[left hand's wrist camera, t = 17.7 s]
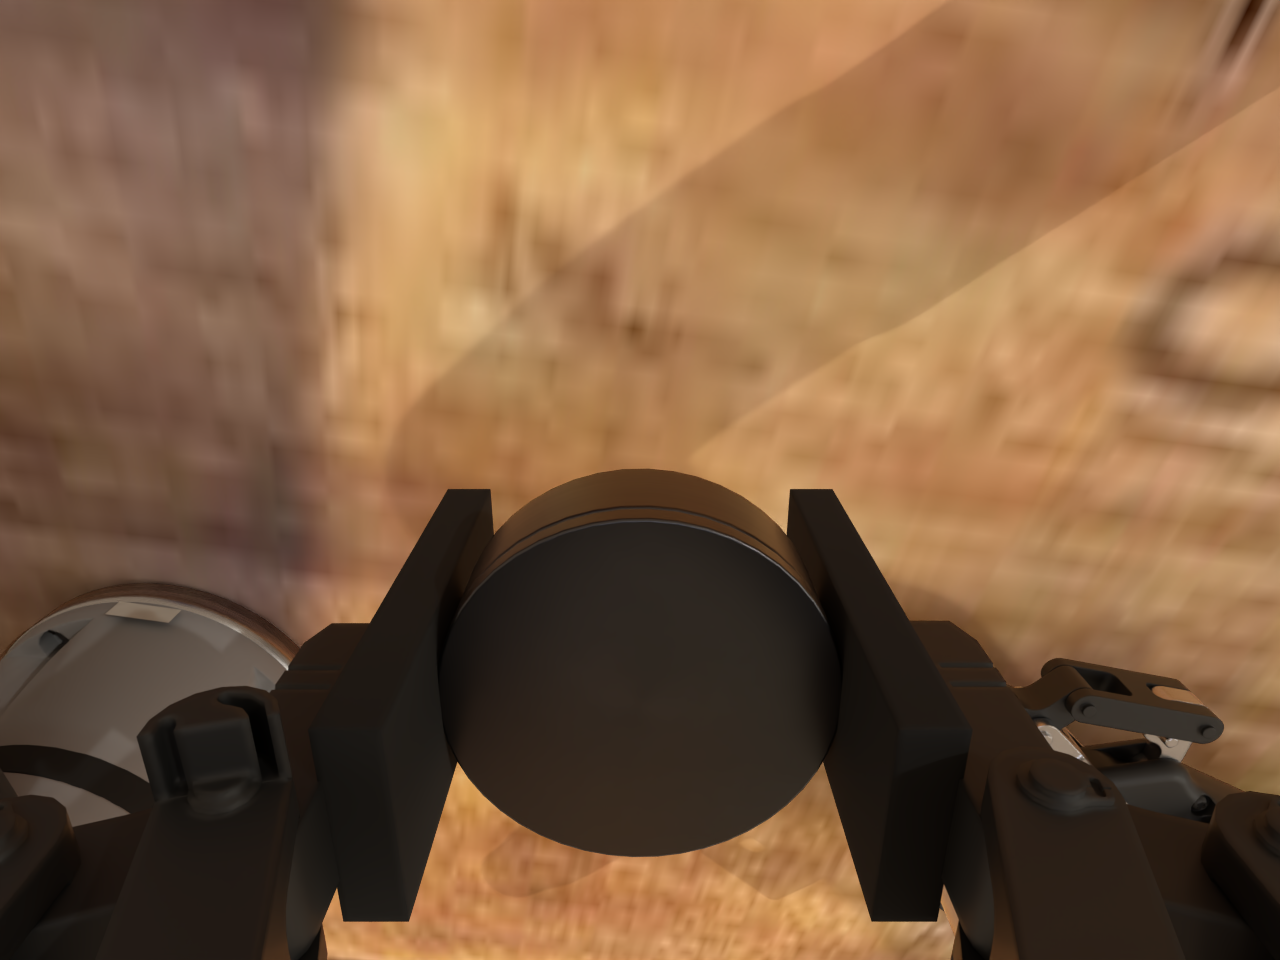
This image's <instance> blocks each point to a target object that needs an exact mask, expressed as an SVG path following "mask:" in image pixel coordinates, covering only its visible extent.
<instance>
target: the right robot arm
mask: <svg viewBox="0 0 1280 960" xmlns="http://www.w3.org/2000/svg"><path fill="white" fill-rule="evenodd" d="M1041 677H1042V678H1041V679H1039V680H1038V681H1036V682H1035V683H1033V684H1031V685H1029V686H1027V687H1021V686H1016V687H1011V686H1009V685H1007V684H1006V687H1010V689H1011V690H1012V691H1013V693H1014V694H1015V696H1016V697H1017V699H1018V700H1019V701H1020V703H1021V704H1022V706H1023V707H1024V709H1025V710H1026V711H1027V713H1028V714H1029V716H1030V717H1031V719H1032V720H1033V721H1034V723H1035V724H1036V726H1037V727H1038V729H1039V730H1040V731H1041V733H1042V734H1043V736H1044V737H1045V739H1046V740H1047V741H1048V743H1049V744H1050V746H1051V747H1052V748H1053V750H1055V751H1059V752H1062V753H1066V754H1069V755H1072V756H1074V757H1076V758H1077V759H1079V760H1081V761H1083V762H1085V763H1087V764H1089V765H1091V766H1093V767H1095V768H1096V769H1097V770H1098V771H1100V772H1101V773H1102V774H1103V775H1105V776H1106V777H1107V778H1108V779H1109V780H1111V781H1112V782H1113V783H1114V784H1115V786H1116V787H1117V789H1118V790H1119V792H1120V793H1121V795H1122V796H1123V798H1124V799H1125V801H1126V804H1129V805H1132V806H1136V807H1139V808H1142V809H1146V810H1150V811H1154V812H1158V813H1163V814H1167V815H1172V816H1176V817H1181V818H1185V819H1190V820H1194V821H1198V822H1203V823H1207V824H1209V823H1210V820H1211V817H1212V814H1213V811H1214V808H1215V806H1216V804H1217V803H1218V802H1219V801H1220V800H1222V799H1223V798H1224V797H1226V796H1227V795H1228V794H1234V793H1241V792H1244V791H1242V790H1240V789H1238V788H1235V787H1233V786H1231V785H1229V784H1227V783H1224V782H1222V781H1220V780H1218V779H1215V778H1213V777H1211V776H1209V775H1207V774H1204V773H1202V772H1200V771H1198V770H1196V769H1193V768H1191V767H1189V766H1187V765H1184V764H1182V763H1181V761H1182V759H1183V758H1184V756H1185V754H1186V752H1187V751H1188V749H1189V747H1190V745H1191V744H1192V742H1195V743H1201V744H1206V743H1210V742H1213V741H1214V740H1216V739H1217V738H1219V737H1220V735H1221V734H1222V732H1223V730H1224V725H1223V723H1222V721H1221V720H1220V719H1219V718H1218V717H1217V716H1216V715H1215V714H1214V713H1212V712H1211V711H1210V710H1209V709H1208V708H1207V707H1206V706H1205V705H1204V704H1203V703H1202V702H1201V701H1200V700H1199V699H1198V698H1197V697H1196V696H1195V695H1194V694H1193V693H1191V692H1190V691H1189V690H1188V689H1187V688H1186V687H1185V686H1184V685H1183V684H1182V683H1181V682H1180V681H1178V680H1176V679H1172V678H1166V677H1161V676H1156V675H1150V674H1145V673H1139V672H1134V671H1128V670H1123V669H1117V668H1112V667H1106V666H1101V665H1095V664H1090V663H1084V662H1079V661H1074V660H1068V659H1063V658H1056V659H1052V660H1050V661H1048V662H1047V663H1046V664H1045V665H1044V666H1043V668H1042V670H1041ZM1075 720H1076V721H1078V722H1081V723H1087V724H1093V725H1098V726H1104V727H1110V728H1115V729H1121V730H1127V731H1132V732H1138V733H1142V734H1143V735H1144V736H1145V737H1146V739H1135V740H1128V741H1120V742H1113V743H1106V744H1098V745H1091V746H1083V745H1082V744H1081V743H1080V742H1079V741H1078V740H1077V739H1076V738H1075V736H1074V735H1073V734H1072V733H1071V732H1070V731H1069V730H1068V729H1067V728H1066V726H1067V725H1069V724H1070V723H1072V722H1073V721H1075ZM940 909H942V910H943V911H944V909H943V906H942V904H941V903H940ZM944 912H945V911H944Z"/></svg>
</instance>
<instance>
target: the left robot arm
mask: <svg viewBox="0 0 1280 960" xmlns="http://www.w3.org/2000/svg"><path fill="white" fill-rule="evenodd" d="M493 536H494V532H493V518H492V505H491V491H490V489H448V490H447V492H446V494H445V495H444V497H443V499H442V500H441V502H440V504H439V506H438V507H437V509H436V511H435V512H434V514H433V516H432V518H431V519H430V521H429V523H428V524H427V526H426V528H425V530H424V531H423V533H422V535H421V536H420V538H419V540H418V542H417V543H416V545H415V547H414V548H413V550H412V552H411V554H410V555H409V557H408V559H407V560H406V562H405V564H404V566H403V567H402V569H401V571H400V572H399V574H398V576H397V578H396V579H395V581H394V583H393V584H392V586H391V588H390V590H389V591H388V593H387V595H386V596H385V598H384V600H383V602H382V603H381V605H380V607H379V608H378V610H377V612H376V614H375V615H374V617H373V619H372V620H371V622H370V623H332V624H330V625H329V626H327V627H326V628H325V629H323V630H322V631H320V632H319V633H318V634H316V635H315V636H313V637H312V638H310V639H309V640H308V641H306V642H305V643H304V644H303V645H302V647H301V648H299V647H298V646H297V645H296V644H295V643H294V642H293V641H292V640H290V639H289V638H288V637H287V636H286V635H285V634H284V633H282V632H281V631H280V630H278V629H277V628H276V627H275V626H273V625H272V624H271V623H269V622H267V621H266V620H264V619H263V618H261V617H260V616H258V615H257V614H255V613H253V612H251V611H249V610H247V609H246V608H244V607H242V606H240V605H237V604H235V603H233V602H231V601H228V600H226V599H224V598H221V597H218V596H215V595H212V594H209V593H206V592H202V591H199V590H195V589H191V588H186V587H180V586H175V585H166V584H151V583H137V584H123V585H117V586H111V587H106V588H102V589H98V590H94V591H91V592H88V593H86V594H83V595H80V596H78V597H76V598H74V599H72V600H70V601H68V602H66V603H64V604H63V605H61V606H60V607H58V608H57V609H55V610H54V611H52V612H51V613H50V614H48V615H47V616H46V617H45V618H43V619H42V620H41V621H39V622H38V623H37V624H35V625H34V626H33V627H32V628H30V629H29V630H28V631H27V632H26V633H24V634H23V635H22V636H21V637H20V638H19V639H18V640H17V641H16V642H15V643H14V644H13V645H12V647H11V648H10V649H9V650H8V652H7V653H6V655H5V656H4V657H3V658H2V660H1V661H0V960H327V948H326V941H325V935H324V930H323V925H322V922H323V919H324V917H325V915H326V912H327V910H328V907H329V905H330V903H331V900H332V898H333V895H334V893H335V891H336V888H337V889H338V895H339V900H340V905H341V911H342V916H343V922H409V919H410V916H411V913H412V909H413V906H414V903H415V900H416V896H417V893H418V890H419V886H420V883H421V880H422V877H423V873H424V870H425V867H426V863H427V860H428V857H429V853H430V850H431V847H432V844H433V840H434V837H435V834H436V830H437V827H438V824H439V821H440V817H441V814H442V811H443V807H444V804H445V801H446V797H447V794H448V791H449V788H450V784H451V781H452V778H453V774H454V771H455V768H456V765H457V760H456V758H455V756H454V754H453V752H452V750H451V747H450V745H449V743H448V741H447V739H446V735H445V732H444V729H443V722H442V714H441V705H440V696H439V685H438V667H439V661H440V656H441V651H442V648H443V645H444V642H445V639H446V636H447V633H448V630H449V628H450V625H451V623H452V620H453V618H454V616H455V613H456V611H457V608H458V606H459V603H460V601H461V598H462V596H463V593H464V591H465V588H466V586H467V584H468V581H469V579H470V576H471V574H472V571H473V569H474V567H475V565H476V563H477V561H478V559H479V557H480V555H481V554H482V552H483V550H484V548H485V547H486V545H487V544H488V543H489V541H490V540H491V539H492V537H493ZM787 537H788V538H789V539H790V540H791V542H792V543H793V544H794V546H795V548H796V550H797V551H798V553H799V555H800V556H801V558H802V560H803V561H804V564H805V566H806V569H807V571H808V573H809V576H810V578H811V581H812V583H813V586H814V588H815V590H816V593H817V595H818V598H819V600H820V603H821V605H822V608H823V610H824V612H825V615H826V617H827V620H828V622H829V625H830V627H831V630H832V632H833V634H834V637H835V639H836V642H837V645H838V650H839V654H840V658H841V662H842V670H843V680H842V691H841V700H840V709H839V718H838V726H837V732H836V734H835V737H834V739H833V742H832V744H831V747H830V749H829V751H828V753H827V755H826V757H825V759H824V760H823V763H824V766H825V770H826V773H827V776H828V779H829V783H830V786H831V789H832V793H833V796H834V799H835V803H836V806H837V809H838V812H839V816H840V819H841V822H842V826H843V829H844V832H845V835H846V839H847V842H848V845H849V849H850V852H851V855H852V859H853V862H854V865H855V868H856V872H857V875H858V878H859V882H860V885H861V888H862V891H863V895H864V898H865V901H866V905H867V908H868V911H869V914H870V918H871V921H878V922H937V919H938V913H939V908H940V903H941V897H942V892H943V887H944V886H945V888H946V890H947V893H948V895H949V898H950V900H951V902H952V905H953V907H954V909H955V912H956V914H957V917H958V919H959V920H958V925H957V930H956V935H955V940H954V945H953V950H952V955H951V960H1280V796H1279V795H1272V794H1265V793H1258V792H1252V791H1249V792H1241V793H1234V794H1228V795H1227V796H1226V797H1224V798H1223V799H1222V800H1220V801H1219V802H1218V803H1217V804H1216V806H1215V808H1214V811H1213V814H1212V817H1211V820H1210V823H1209V824H1207V823H1203V822H1198V821H1194V820H1190V819H1185V818H1181V817H1176V816H1172V815H1167V814H1163V813H1158V812H1154V811H1150V810H1146V809H1142V808H1139V807H1136V806H1132V805H1129V804H1126V801H1125V799H1124V798H1123V796H1122V795H1121V793H1120V792H1119V790H1118V789H1117V787H1116V786H1115V784H1114V783H1113V782H1112V781H1111V780H1109V779H1108V778H1107V777H1106V776H1105V775H1103V774H1102V773H1101V772H1100V771H1098V770H1097V769H1096V768H1095V767H1093V766H1091V765H1089V764H1087V763H1085V762H1083V761H1081V760H1079V759H1077V758H1076V757H1074V756H1072V755H1069V754H1066V753H1062V752H1059V751H1055V750H1053V748H1052V747H1051V746H1050V744H1049V743H1048V741H1047V740H1046V739H1045V737H1044V736H1043V734H1042V733H1041V731H1040V730H1039V729H1038V727H1037V726H1036V724H1035V723H1034V721H1033V720H1032V719H1031V717H1030V716H1029V714H1028V713H1027V711H1026V710H1025V709H1024V707H1023V706H1022V704H1021V703H1020V701H1019V700H1018V699H1017V697H1016V696H1015V694H1014V693H1013V691H1012V690H1011V689H1010V687H1006V681H1005V680H1004V679H1003V677H1002V676H1001V674H1000V673H999V671H998V670H997V669H996V668H993V663H992V661H991V660H990V659H989V657H988V656H987V654H986V653H985V651H984V650H983V649H982V647H981V646H980V644H979V643H978V641H977V640H975V639H974V638H973V637H971V636H970V635H968V634H967V633H965V632H964V631H963V630H961V629H960V628H958V627H957V626H955V625H954V624H953V623H951V622H950V621H909V620H908V618H907V616H906V614H905V613H904V611H903V609H902V608H901V606H900V604H899V602H898V601H897V599H896V597H895V596H894V594H893V592H892V590H891V589H890V587H889V585H888V584H887V582H886V580H885V578H884V577H883V575H882V573H881V572H880V570H879V568H878V566H877V565H876V563H875V561H874V560H873V558H872V556H871V554H870V553H869V551H868V549H867V548H866V546H865V544H864V543H863V541H862V539H861V537H860V536H859V534H858V532H857V531H856V529H855V527H854V525H853V524H852V522H851V520H850V519H849V517H848V515H847V513H846V512H845V510H844V508H843V507H842V505H841V503H840V501H839V500H838V498H837V496H836V495H835V493H834V491H833V489H790V498H789V511H788V525H787Z"/></svg>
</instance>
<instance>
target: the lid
mask: <svg viewBox="0 0 1280 960" xmlns="http://www.w3.org/2000/svg"><path fill="white" fill-rule="evenodd" d="M842 680H843V670H842V662H841V658H840V654H839V650H838V645H837V642H836V639H835V637H834V634H833V632H832V630H831V627H830V625H829V622H828V620H827V617H826V615H825V612H824V610H823V608H822V605H821V603H820V600H819V598H818V595H817V593H816V590H815V588H814V586H813V583H812V581H811V578H810V576H809V573H808V571H807V569H806V566H805V564H804V561H803V560H802V558H801V556H800V555H799V553H798V551H797V550H796V548H795V546H794V544H793V543H792V542H791V540H790V539H789V538H788V537H787V535H786V534H785V533H784V532H783V530H782V529H781V528H780V527H779V526H778V525H777V524H776V523H775V522H774V521H773V520H772V519H771V518H770V517H769V516H768V515H767V514H765V513H764V512H763V511H762V510H761V509H760V508H758V507H757V506H755V505H754V504H752V503H751V502H750V501H748V500H747V499H745V498H744V497H742V496H741V495H739V494H737V493H735V492H733V491H731V490H729V489H727V488H725V487H723V486H721V485H719V484H716V483H713V482H710V481H708V480H705V479H702V478H699V477H696V476H692V475H687V474H683V473H678V472H674V471H665V470H655V469H622V470H616V471H609V472H602V473H597V474H593V475H589V476H586V477H582V478H578V479H575V480H572V481H570V482H567V483H565V484H563V485H560V486H558V487H555V488H553V489H551V490H549V491H547V492H546V493H544V494H542V495H541V496H539V497H537V498H535V499H534V500H532V501H530V502H529V503H528V504H527V505H525V506H524V507H523V508H521V509H520V510H519V511H517V512H516V513H515V514H514V515H512V516H511V517H510V518H509V519H508V520H507V522H506V523H505V524H504V525H503V526H502V527H501V528H500V529H499V530H498V531H497V532H496V533H495V535H494V536H493V537H492V539H491V540H490V541H489V543H488V544H487V545H486V547H485V548H484V550H483V552H482V554H481V555H480V557H479V559H478V561H477V563H476V565H475V567H474V569H473V571H472V574H471V576H470V579H469V581H468V584H467V586H466V588H465V591H464V593H463V596H462V598H461V601H460V603H459V606H458V608H457V611H456V613H455V616H454V618H453V620H452V623H451V625H450V628H449V630H448V633H447V636H446V639H445V642H444V645H443V648H442V651H441V656H440V661H439V667H438V685H439V696H440V705H441V714H442V722H443V729H444V732H445V735H446V739H447V741H448V743H449V745H450V747H451V750H452V752H453V754H454V756H455V758H456V760H457V762H458V763H459V765H460V766H461V768H462V769H463V771H464V772H465V774H466V775H467V777H468V778H469V779H470V781H471V782H472V783H473V784H474V785H475V786H476V788H477V789H478V790H479V791H480V792H481V793H482V794H483V796H485V797H486V798H487V799H488V800H489V801H490V802H491V803H492V804H494V805H495V806H496V807H497V808H498V809H499V810H500V811H502V812H503V813H505V814H506V815H507V816H509V817H510V818H512V819H513V820H515V821H516V822H517V823H519V824H521V825H522V826H524V827H526V828H528V829H530V830H532V831H533V832H535V833H537V834H539V835H541V836H544V837H546V838H549V839H551V840H553V841H556V842H558V843H561V844H564V845H567V846H571V847H574V848H578V849H581V850H584V851H590V852H595V853H601V854H606V855H615V856H627V857H655V856H665V855H673V854H681V853H686V852H690V851H695V850H699V849H704V848H707V847H710V846H713V845H716V844H719V843H722V842H725V841H728V840H730V839H732V838H734V837H737V836H739V835H741V834H743V833H745V832H748V831H749V830H751V829H753V828H754V827H756V826H758V825H759V824H761V823H763V822H765V821H766V820H768V819H769V818H771V817H772V816H773V815H775V814H776V813H777V812H778V811H780V810H781V809H782V808H784V807H785V806H786V805H787V804H788V803H789V802H790V801H791V800H793V799H794V798H795V797H796V796H797V795H798V794H799V793H800V792H801V791H802V790H803V789H804V787H805V786H806V785H807V784H808V782H809V781H810V780H811V778H812V777H813V776H814V775H815V773H816V772H817V771H818V769H819V767H820V765H821V764H822V762H823V760H824V759H825V757H826V755H827V753H828V751H829V749H830V747H831V744H832V742H833V739H834V737H835V734H836V732H837V726H838V718H839V709H840V700H841V691H842Z"/></svg>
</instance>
